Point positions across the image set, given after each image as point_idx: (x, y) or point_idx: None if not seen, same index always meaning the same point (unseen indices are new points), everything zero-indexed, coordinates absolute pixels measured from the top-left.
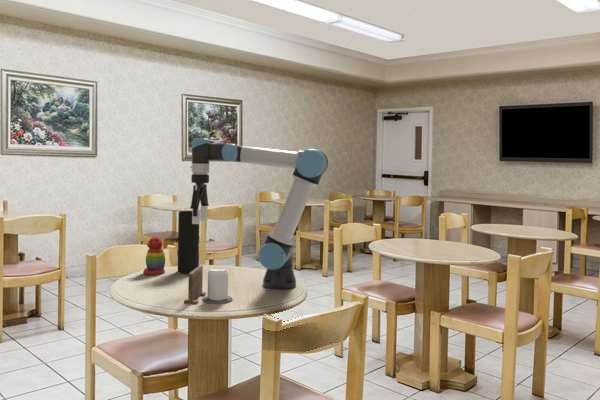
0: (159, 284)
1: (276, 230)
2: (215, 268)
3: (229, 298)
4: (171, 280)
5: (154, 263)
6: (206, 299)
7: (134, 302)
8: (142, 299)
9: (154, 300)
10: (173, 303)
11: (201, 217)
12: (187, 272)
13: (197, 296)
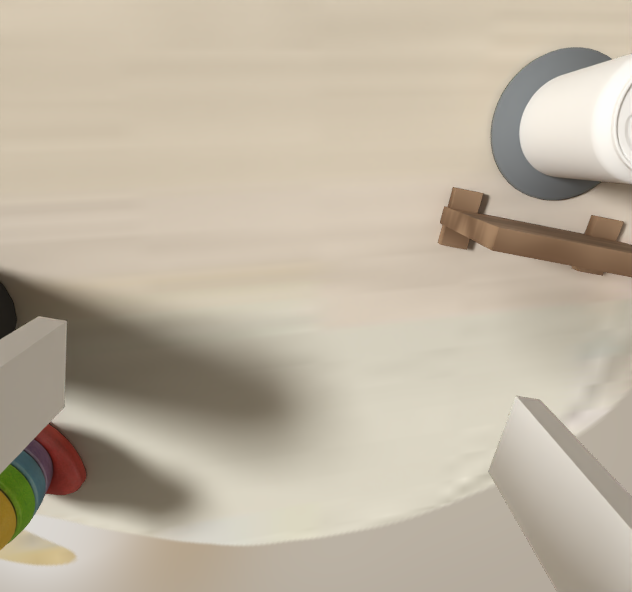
0: (256, 404)
1: None
2: (614, 136)
3: (566, 64)
4: (173, 366)
5: (39, 487)
6: (565, 180)
7: None
8: None
9: (525, 386)
10: (584, 313)
11: (35, 417)
12: (10, 311)
13: (533, 224)
